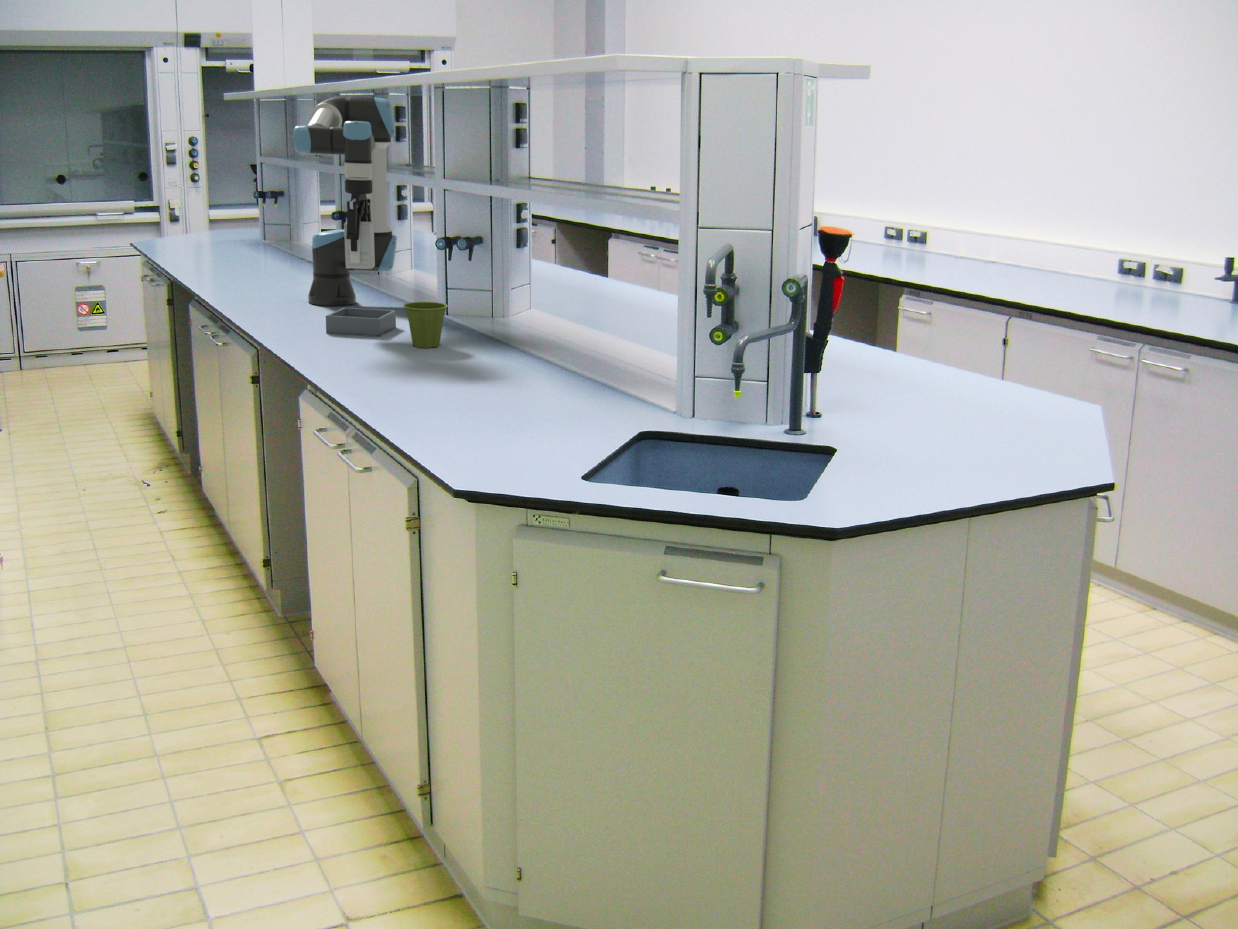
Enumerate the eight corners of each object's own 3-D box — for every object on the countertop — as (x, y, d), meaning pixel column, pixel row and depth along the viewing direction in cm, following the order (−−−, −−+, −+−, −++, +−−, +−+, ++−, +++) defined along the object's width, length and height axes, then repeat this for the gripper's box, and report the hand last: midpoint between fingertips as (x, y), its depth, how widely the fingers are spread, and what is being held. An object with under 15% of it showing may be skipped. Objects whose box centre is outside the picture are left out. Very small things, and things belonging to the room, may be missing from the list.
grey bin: (344, 324, 347) (343, 307, 345) (395, 327, 345) (395, 310, 344) (326, 333, 332) (325, 315, 330) (379, 336, 330) (379, 319, 329)
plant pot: (400, 342, 323) (399, 301, 320) (442, 341, 327) (442, 301, 324) (408, 350, 313) (407, 308, 310) (452, 349, 317) (452, 308, 314)
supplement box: (375, 266, 337) (374, 221, 333) (371, 269, 330) (370, 223, 326) (349, 265, 337) (348, 220, 333) (344, 268, 330) (343, 222, 326)
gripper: (357, 176, 337) (358, 256, 343) (332, 179, 317) (335, 264, 323) (382, 177, 336) (383, 257, 342) (359, 181, 316) (361, 266, 323)
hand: (360, 261), depth 333 cm, fingers closed on supplement box, 8 cm apart
